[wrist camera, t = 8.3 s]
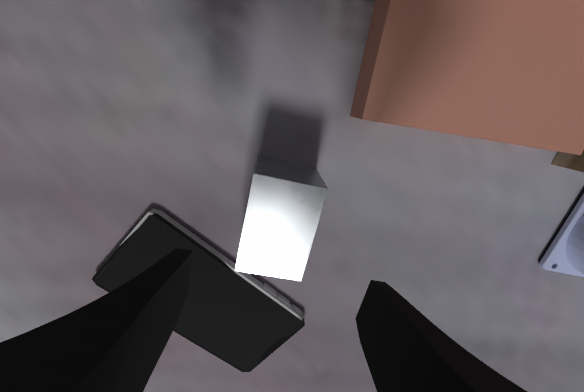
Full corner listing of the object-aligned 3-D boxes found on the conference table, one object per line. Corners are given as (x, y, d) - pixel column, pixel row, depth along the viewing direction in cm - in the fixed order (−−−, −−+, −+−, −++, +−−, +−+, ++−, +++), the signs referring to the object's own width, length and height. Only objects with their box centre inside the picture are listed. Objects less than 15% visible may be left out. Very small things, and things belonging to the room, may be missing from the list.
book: (596, 18, 17) (662, 2, 14) (536, 146, 19) (580, 155, 16) (380, -32, 15) (405, -62, 12) (348, 115, 18) (362, 119, 15)
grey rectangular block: (316, 167, 18) (328, 189, 14) (295, 243, 20) (301, 281, 16) (258, 155, 18) (253, 173, 14) (243, 233, 20) (234, 270, 16)
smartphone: (151, 207, 18) (309, 321, 22) (159, 200, 19) (307, 310, 23) (88, 282, 20) (245, 375, 24) (98, 272, 21) (246, 363, 25)
